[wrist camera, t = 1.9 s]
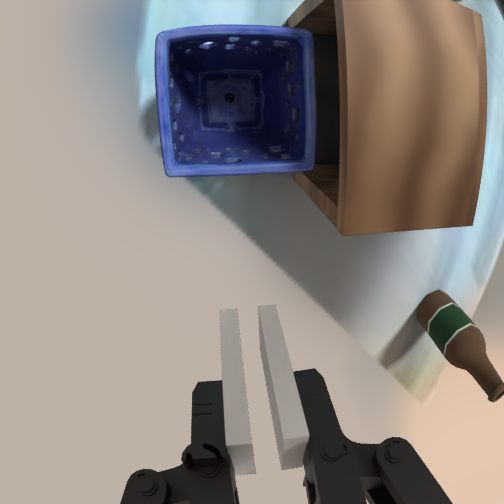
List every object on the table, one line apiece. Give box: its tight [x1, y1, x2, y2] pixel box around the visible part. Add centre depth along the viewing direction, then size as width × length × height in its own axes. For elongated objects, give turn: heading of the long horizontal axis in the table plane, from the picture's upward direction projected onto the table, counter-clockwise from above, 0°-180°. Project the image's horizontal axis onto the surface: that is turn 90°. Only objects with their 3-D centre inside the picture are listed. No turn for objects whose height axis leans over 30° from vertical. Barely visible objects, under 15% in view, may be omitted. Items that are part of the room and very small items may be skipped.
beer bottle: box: [418, 290, 504, 402], centre depth 41 cm, size 8×8×24 cm
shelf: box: [288, 0, 487, 236], centre depth 26 cm, size 14×21×17 cm
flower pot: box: [155, 25, 317, 177], centre depth 27 cm, size 13×13×12 cm
